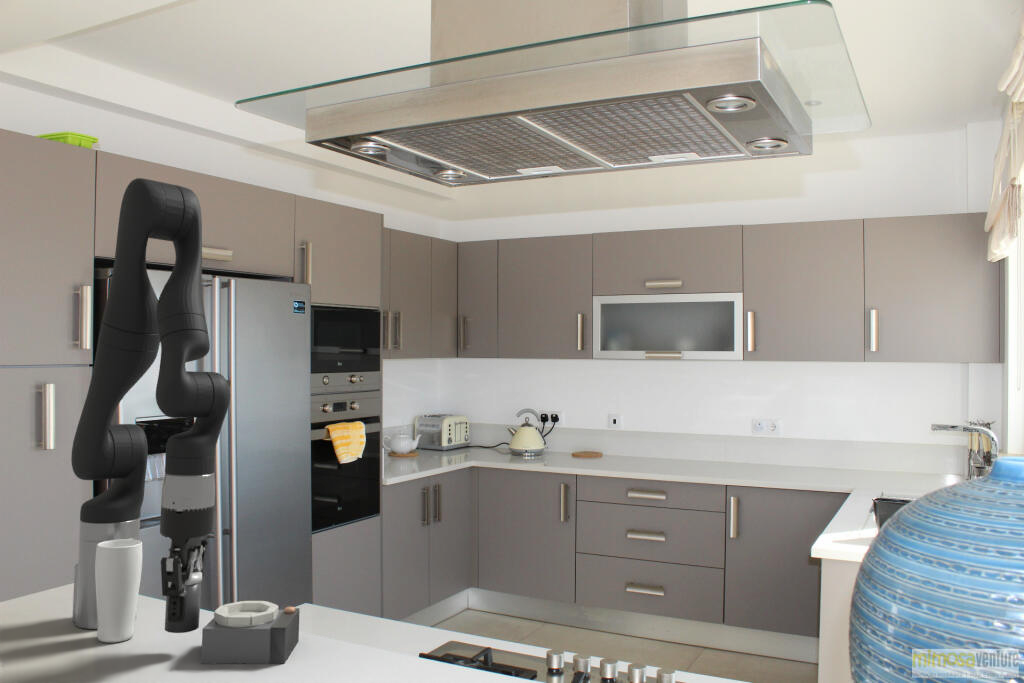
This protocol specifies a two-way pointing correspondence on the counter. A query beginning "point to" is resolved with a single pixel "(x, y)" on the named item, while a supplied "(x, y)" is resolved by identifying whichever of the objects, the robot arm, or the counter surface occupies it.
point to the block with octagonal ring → (250, 634)
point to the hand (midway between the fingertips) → (182, 615)
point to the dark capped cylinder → (187, 607)
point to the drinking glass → (117, 588)
